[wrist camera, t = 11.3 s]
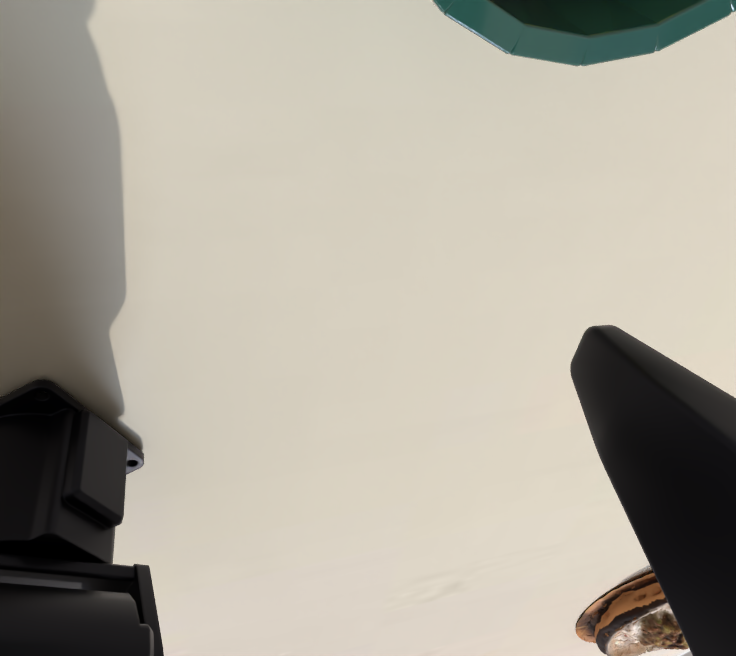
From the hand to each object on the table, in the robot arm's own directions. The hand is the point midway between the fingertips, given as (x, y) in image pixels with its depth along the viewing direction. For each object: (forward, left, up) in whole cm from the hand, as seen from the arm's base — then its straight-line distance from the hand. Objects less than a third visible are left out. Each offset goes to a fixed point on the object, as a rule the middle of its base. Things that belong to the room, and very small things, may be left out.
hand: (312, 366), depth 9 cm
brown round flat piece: (+8, -58, -13) cm, 60 cm away
